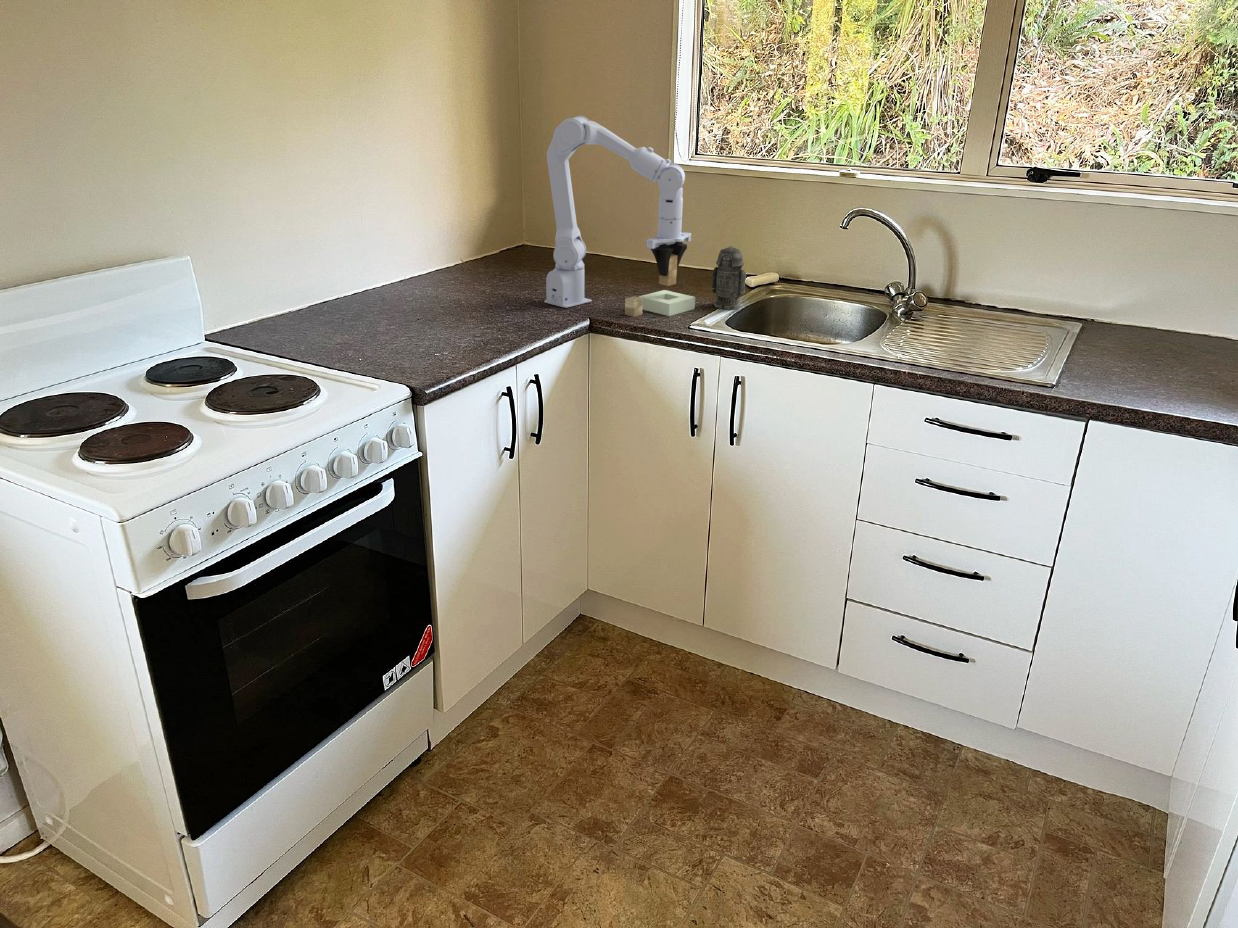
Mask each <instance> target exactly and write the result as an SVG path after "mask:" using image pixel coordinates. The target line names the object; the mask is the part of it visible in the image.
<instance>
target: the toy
mask: <svg viewBox="0 0 1238 928" xmlns="http://www.w3.org/2000/svg"><path fill="white" fill-rule="evenodd" d="M715 264H716V265H717V266H715V267H714V268H713V270H712V283H711V292H712V293H713V294H715V295H716V300H715V301H714V305H713V306H714V307H715V308H717V309H724V310H737V309H739V308H741V297H743V295H744V294H745V293H746V290H745V288H746V278H747V273H746V271H745V270H744V269H742V267H743V266H744V265H745V263H744V259H743V254H742V251H741V250H740V249H738V248H736V247H733V246H732V245H731V246H728V247H725V248H722V249H720V252H719V254H718V255H717V260H716V262H715Z"/></svg>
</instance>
